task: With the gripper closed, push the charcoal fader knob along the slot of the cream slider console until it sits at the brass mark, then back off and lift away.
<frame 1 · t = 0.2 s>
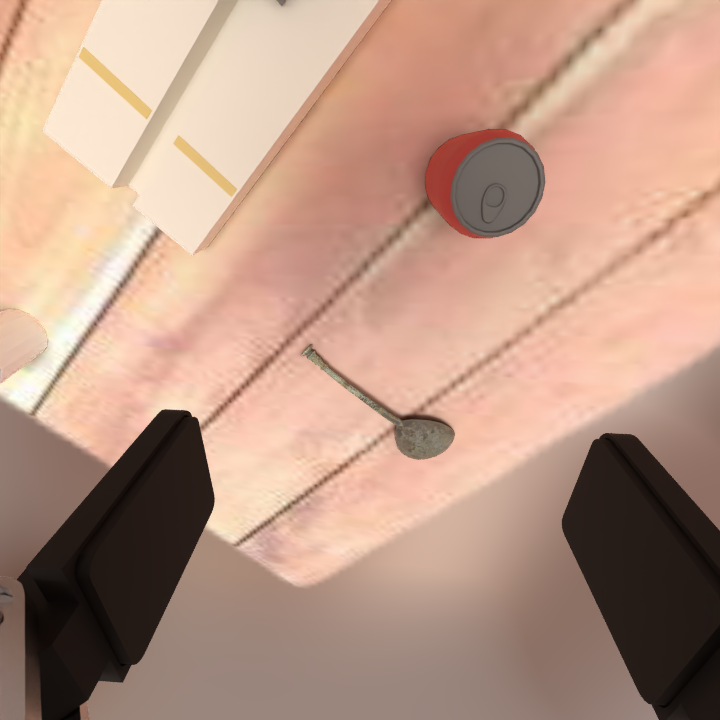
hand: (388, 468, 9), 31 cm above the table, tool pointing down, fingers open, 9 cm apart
slider console: (222, 66, 31), on the table
soupspoon: (380, 399, 46), on the table
beer can: (461, 177, 34), on the table
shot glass: (23, 331, 44), on the table
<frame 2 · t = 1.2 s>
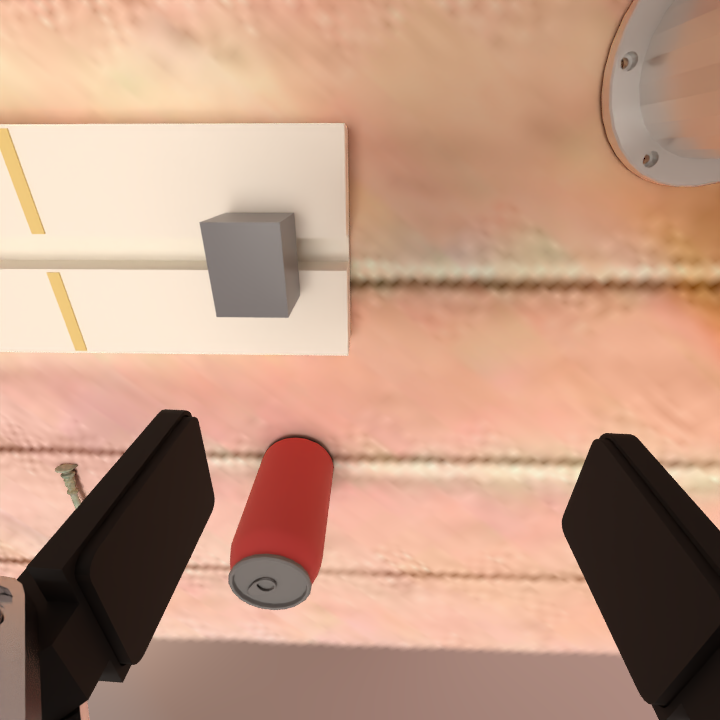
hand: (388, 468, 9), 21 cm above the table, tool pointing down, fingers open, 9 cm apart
fader knob: (261, 258, 23), point 5 cm above the table, slide at 0.0 cm
slider console: (166, 243, 28), on the table
soupspoon: (112, 534, 43), on the table
beer can: (299, 460, 37), on the table
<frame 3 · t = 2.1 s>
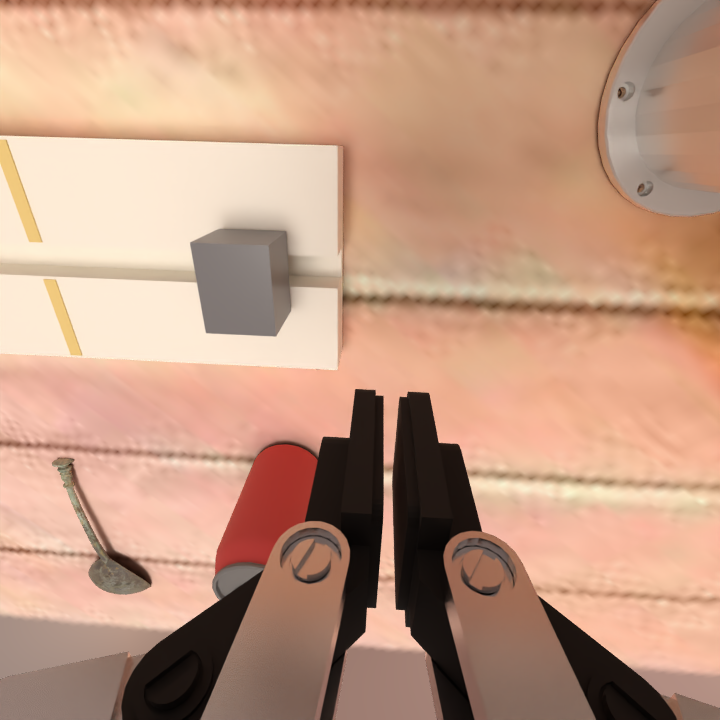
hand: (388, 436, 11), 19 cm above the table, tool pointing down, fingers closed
fader knob: (253, 274, 23), point 5 cm above the table, slide at 0.0 cm
slider console: (162, 252, 28), on the table
soupspoon: (107, 527, 44), on the table
beer can: (289, 465, 37), on the table
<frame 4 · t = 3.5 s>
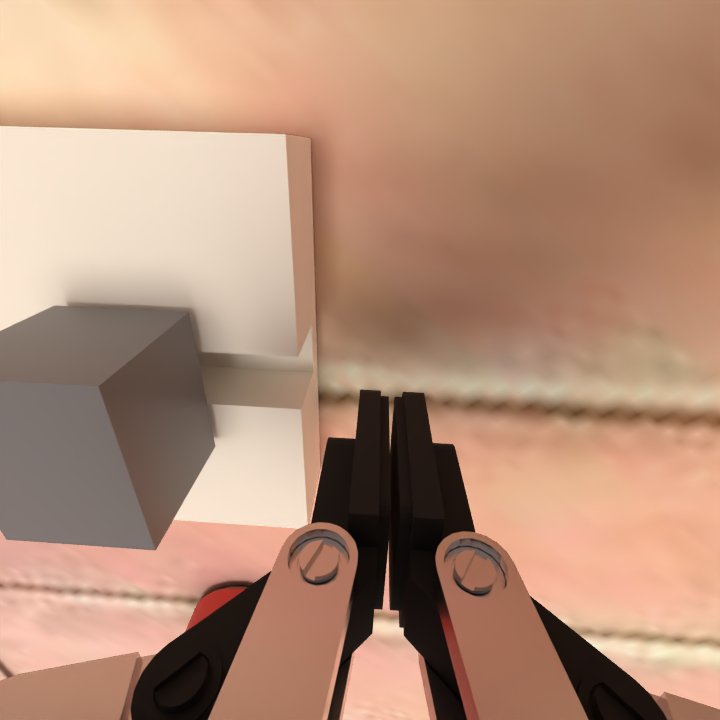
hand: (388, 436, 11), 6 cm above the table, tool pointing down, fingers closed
fader knob: (128, 395, 12), point 5 cm above the table, slide at 0.0 cm
slider console: (6, 322, 16), on the table
beer can: (249, 607, 26), on the table
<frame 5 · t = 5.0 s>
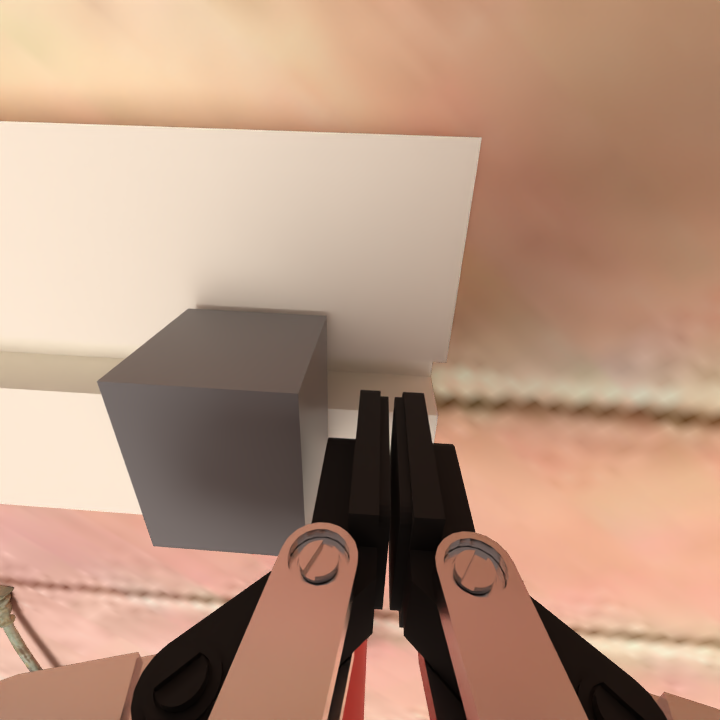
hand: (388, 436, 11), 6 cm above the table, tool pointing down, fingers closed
fader knob: (257, 399, 12), point 5 cm above the table, slide at 0.6 cm, touching gripper
slider console: (114, 324, 16), on the table
soupspoon: (66, 657, 32), on the table
beer can: (317, 611, 25), on the table
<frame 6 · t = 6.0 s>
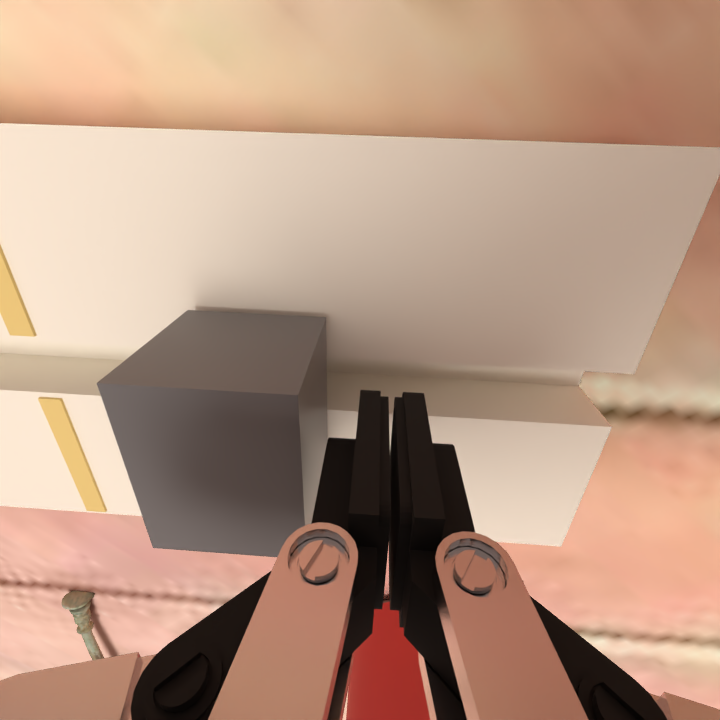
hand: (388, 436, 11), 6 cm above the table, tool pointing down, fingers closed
fader knob: (257, 400, 12), point 5 cm above the table, slide at 6.3 cm, touching gripper
slider console: (249, 333, 16), on the table
soupspoon: (133, 663, 31), on the table
beer can: (404, 619, 25), on the table
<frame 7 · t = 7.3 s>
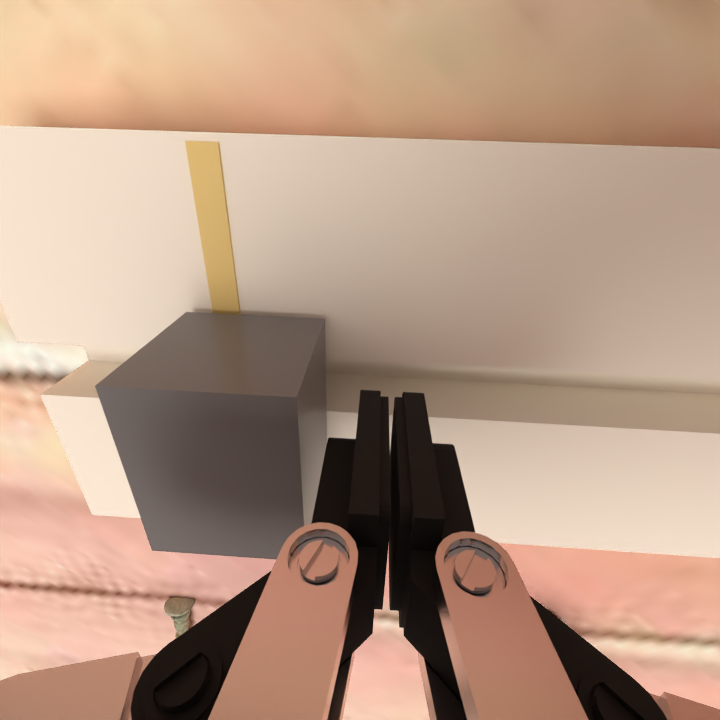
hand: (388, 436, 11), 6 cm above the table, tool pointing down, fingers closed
fader knob: (256, 402, 12), point 5 cm above the table, slide at 13.0 cm, touching gripper
slider console: (414, 343, 16), on the table
soupspoon: (215, 669, 31), on the table
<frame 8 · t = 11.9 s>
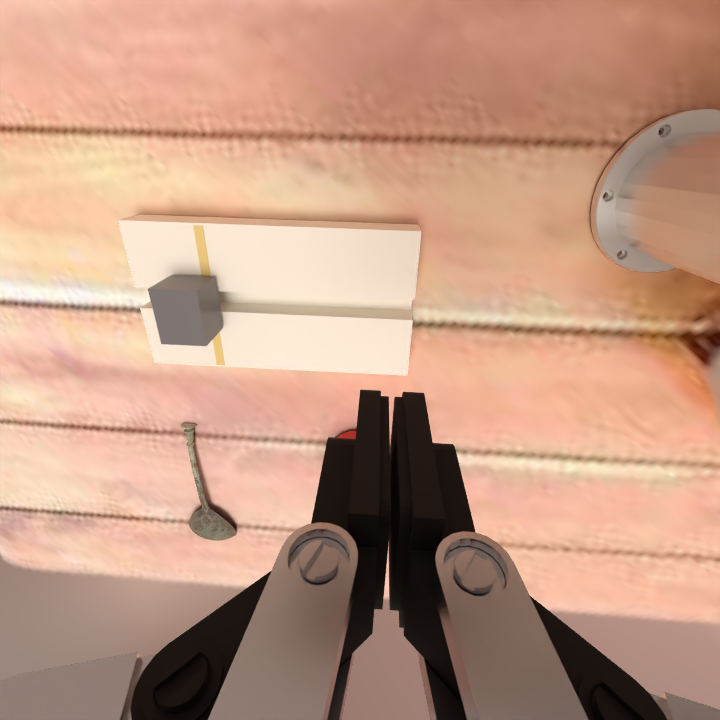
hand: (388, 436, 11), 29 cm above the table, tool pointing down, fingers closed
fader knob: (194, 305, 35), point 5 cm above the table, slide at 15.0 cm
slider console: (282, 292, 39), on the table
soupspoon: (208, 482, 54), on the table
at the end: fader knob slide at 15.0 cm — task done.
